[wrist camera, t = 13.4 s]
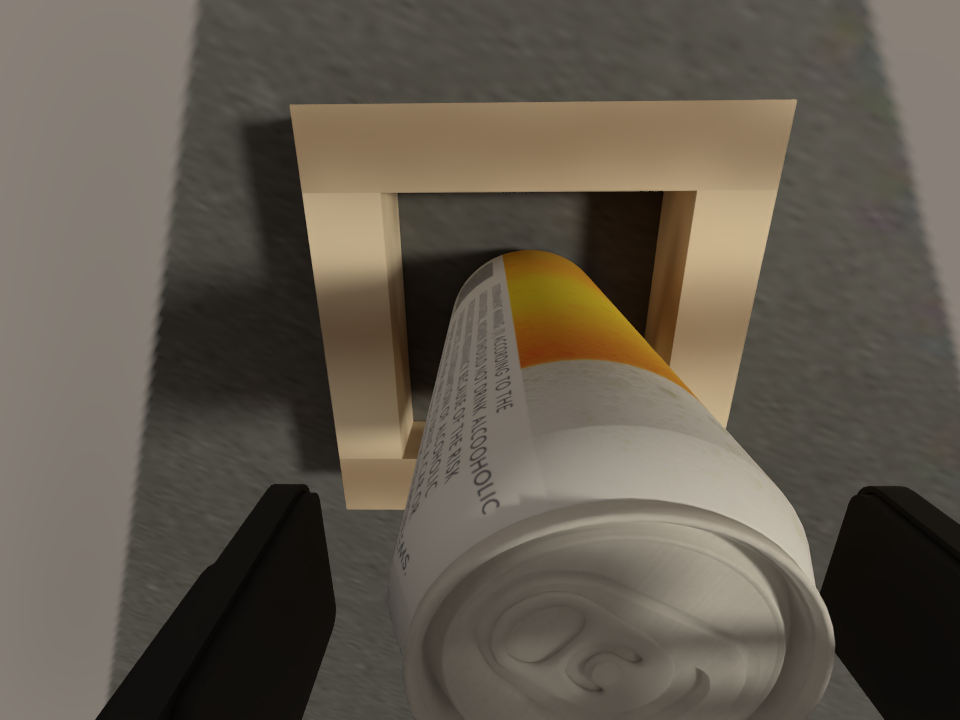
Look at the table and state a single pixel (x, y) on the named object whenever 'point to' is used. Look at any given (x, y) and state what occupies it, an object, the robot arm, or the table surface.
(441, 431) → the beer can
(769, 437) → the table surface
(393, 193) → the can holder
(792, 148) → the table surface
